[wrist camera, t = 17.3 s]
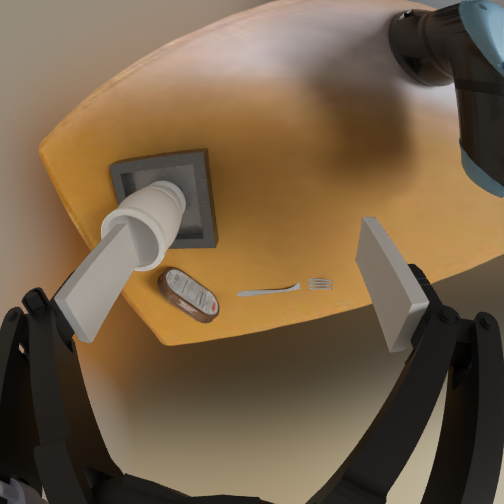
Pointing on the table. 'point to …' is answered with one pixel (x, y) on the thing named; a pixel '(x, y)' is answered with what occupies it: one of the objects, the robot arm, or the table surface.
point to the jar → (150, 221)
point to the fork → (295, 287)
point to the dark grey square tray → (187, 179)
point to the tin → (188, 295)
